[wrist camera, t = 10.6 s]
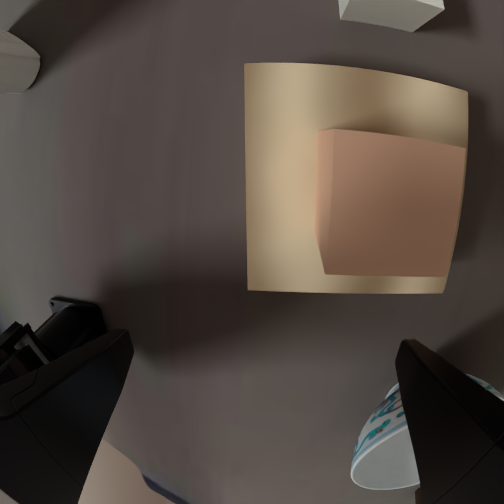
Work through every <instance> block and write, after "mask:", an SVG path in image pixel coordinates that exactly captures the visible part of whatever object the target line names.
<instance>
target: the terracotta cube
mask: <svg viewBox="0 0 504 504" xmlns="http://www.w3.org/2000/svg"><path fill="white" fill-rule="evenodd" d="M464 163H465V148H462V147H457V146H452V145H448V144H443V143H438V142H432V141H427V140H421V139H415V138H409V137H403V136H396V135H388V134H381V133H372V132H363V131H353V130H342V129H330V130H323V131H318V155H317V186H316V208H315V226H314V232H315V236H316V240H317V244H318V248H319V252H320V256H321V260H322V264H323V268H324V272H325V275H353V276H398V277H445V276H446V272H447V268H448V264H449V260H450V255H451V251H452V246H453V241H454V236H455V231H456V226H457V220H458V214H459V207H460V200H461V193H462V184H463V175H464Z"/></svg>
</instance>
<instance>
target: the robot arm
mask: <svg viewBox="0 0 504 504" xmlns="http://www.w3.org/2000/svg"><path fill="white" fill-rule="evenodd" d="M49 304H50V307H51V310H52V313H53V315H52V316H51V317H50V318H49V319H47V320H46V321H45V322H44V323H43V324H42V325H41V326H40V327H39V328H38V329H37V330H36V331H35V332H33V331H32V329H31V326H30V325H29V323H27V324H25V325H24V326H22V324H19V323H18V322H16V321H15V322H14V323H13V324H12V325H11V326H10V327H9V328H8V329H6V330H5V331H4V332H3V333H2V334H1V335H0V504H78V501H79V498H80V495H81V492H82V489H83V486H84V484H85V481H86V478H87V475H88V473H89V470H90V467H91V465H92V462H93V460H94V457H95V454H96V452H97V449H98V447H99V444H100V442H101V439H102V437H103V434H104V432H105V429H106V427H107V425H108V422H109V420H110V417H111V415H112V413H113V410H114V408H115V406H116V403H117V401H118V399H119V396H120V394H121V392H122V389H123V386H124V383H125V380H126V377H127V373H128V370H129V367H130V364H131V361H132V358H133V355H134V348H133V344H132V341H131V338H130V334H129V332H128V330H126V329H120V328H116V329H114V330H112V331H110V332H108V333H107V331H106V328H105V324H104V321H103V318H102V314H101V311H100V308H99V307H98V306H97V305H95V304H89V303H82V302H76V301H70V300H64V299H58V298H51V299H50V300H49ZM395 366H396V371H397V377H398V383H399V389H400V396H401V402H402V406H403V410H404V414H405V418H406V422H407V426H408V430H409V434H410V438H411V442H412V447H413V451H414V456H415V461H416V466H417V470H418V476H419V481H420V487H421V492H422V498H423V504H504V401H503V400H502V399H500V398H499V397H497V396H496V395H494V394H493V393H491V392H490V391H489V390H486V389H485V388H484V387H483V386H482V385H480V384H479V383H477V382H476V381H474V380H473V379H472V378H470V377H469V376H467V375H466V374H465V373H463V372H462V371H460V370H459V369H457V368H456V367H455V366H453V365H452V364H450V363H449V362H447V361H446V360H444V359H443V358H442V357H440V356H439V355H437V354H436V353H434V352H433V351H431V350H430V349H429V348H427V347H426V346H424V345H423V344H421V343H420V342H418V341H417V340H415V339H404V340H402V342H401V344H400V347H399V350H398V353H397V356H396V360H395Z"/></svg>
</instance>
